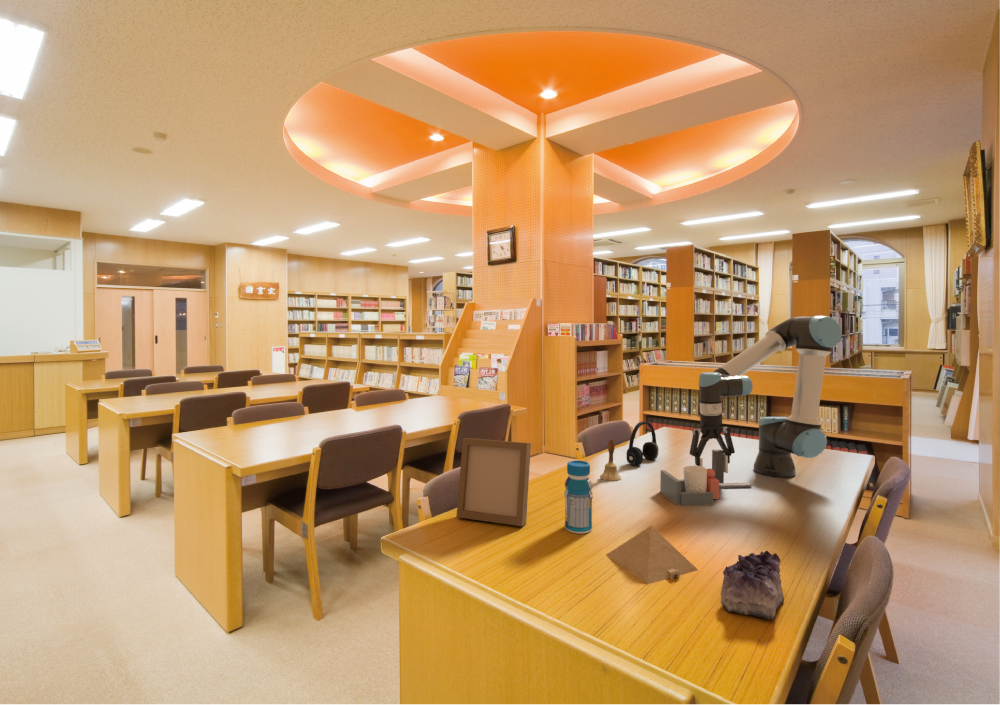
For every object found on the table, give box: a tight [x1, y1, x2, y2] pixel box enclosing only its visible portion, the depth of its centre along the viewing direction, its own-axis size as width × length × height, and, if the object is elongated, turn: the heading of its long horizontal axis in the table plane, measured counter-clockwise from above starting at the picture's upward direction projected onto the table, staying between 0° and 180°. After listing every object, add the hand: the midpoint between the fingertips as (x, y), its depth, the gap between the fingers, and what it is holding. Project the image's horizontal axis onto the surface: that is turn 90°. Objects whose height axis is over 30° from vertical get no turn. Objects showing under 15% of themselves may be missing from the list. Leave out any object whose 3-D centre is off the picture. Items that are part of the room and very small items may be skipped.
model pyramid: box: [605, 525, 699, 585], centre depth 121 cm, size 17×17×10 cm
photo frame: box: [456, 437, 532, 527], centre depth 153 cm, size 15×22×25 cm
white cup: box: [682, 465, 708, 492], centre depth 168 cm, size 8×8×10 cm
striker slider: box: [706, 449, 725, 500], centre depth 173 cm, size 12×15×14 cm
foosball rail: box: [719, 481, 752, 490], centre depth 179 cm, size 30×3×1 cm, turn 94°
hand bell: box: [600, 438, 622, 482], centre depth 191 cm, size 8×8×16 cm
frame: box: [659, 469, 714, 507], centre depth 168 cm, size 12×15×8 cm
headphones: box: [626, 421, 659, 467], centre depth 213 cm, size 20×7×18 cm, turn 133°
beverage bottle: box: [563, 459, 594, 535], centre depth 142 cm, size 8×8×20 cm
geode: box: [720, 550, 785, 620], centre depth 105 cm, size 20×12×10 cm, turn 140°
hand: (712, 472), depth 179 cm, fingers open, 9 cm apart
